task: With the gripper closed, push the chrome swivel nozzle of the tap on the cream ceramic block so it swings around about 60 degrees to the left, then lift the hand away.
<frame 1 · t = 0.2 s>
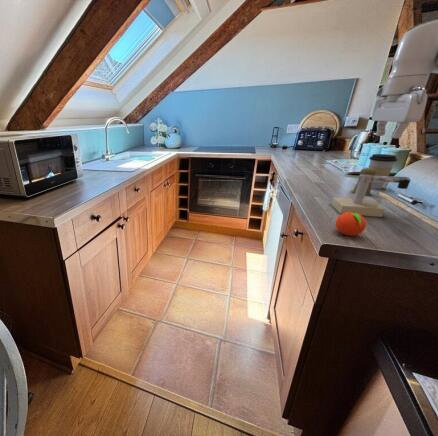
hand: (387, 136, 78), 26 cm above the countertop, tool pointing down, fingers open, 8 cm apart
clementine: (347, 235, 72), on the countertop
spout: (382, 181, 84), point 11 cm above the countertop, hinge at 0.0°
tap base: (354, 210, 90), on the countertop
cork: (360, 193, 108), on the countertop
coffee cup: (372, 187, 116), on the countertop
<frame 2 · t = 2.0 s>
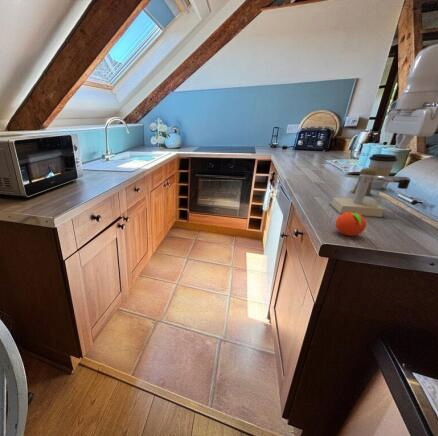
hand: (400, 148, 82), 22 cm above the countertop, tool pointing down, fingers closed
nothing on the countertop moved.
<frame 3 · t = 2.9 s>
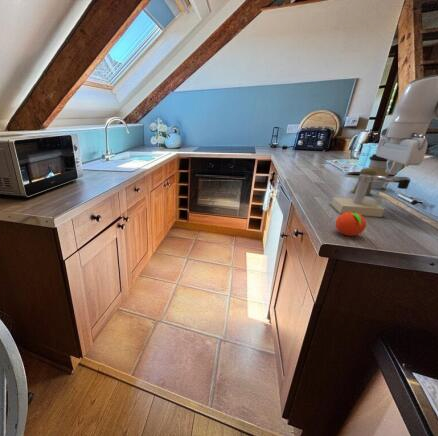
hand: (390, 173, 85), 13 cm above the countertop, tool pointing down, fingers closed
nothing on the countertop moved.
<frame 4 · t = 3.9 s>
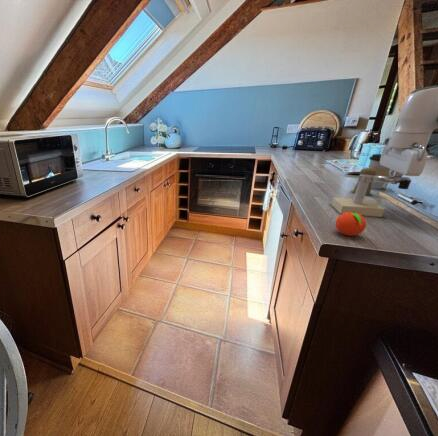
hand: (392, 183, 84), 10 cm above the countertop, tool pointing down, fingers closed
spout: (383, 181, 83), point 11 cm above the countertop, hinge at 2.2°, touching gripper
everything else where it was.
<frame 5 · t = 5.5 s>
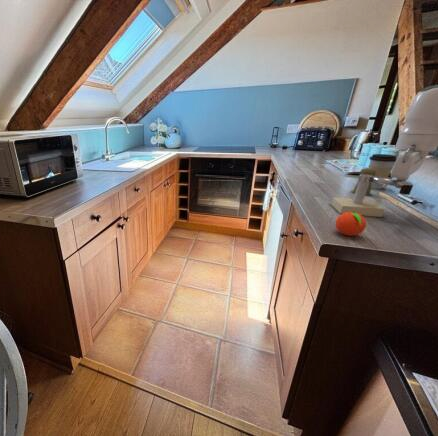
hand: (398, 187, 79), 10 cm above the countertop, tool pointing down, fingers closed
spout: (383, 183, 81), point 11 cm above the countertop, hinge at 42.9°, touching gripper
everything else where it was.
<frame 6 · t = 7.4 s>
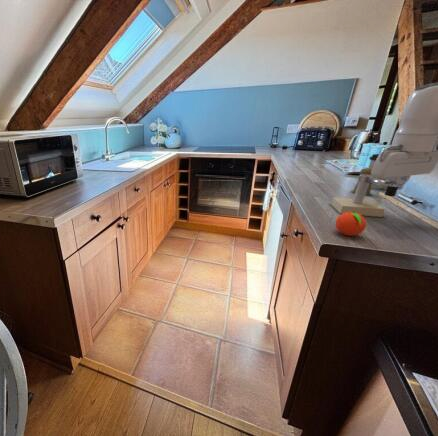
hand: (395, 189, 77), 11 cm above the countertop, tool pointing down, fingers closed
spout: (376, 184, 80), point 11 cm above the countertop, hinge at 74.2°
everything else where it was.
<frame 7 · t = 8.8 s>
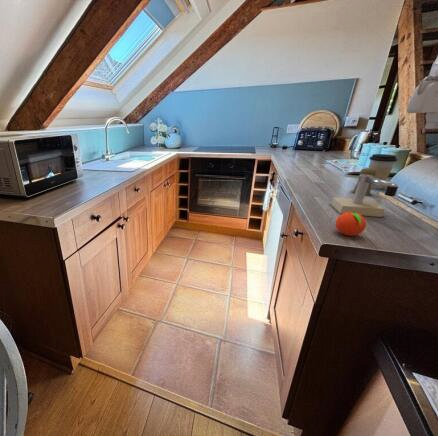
hand: (431, 128, 72), 28 cm above the countertop, tool pointing down, fingers closed
nothing on the countertop moved.
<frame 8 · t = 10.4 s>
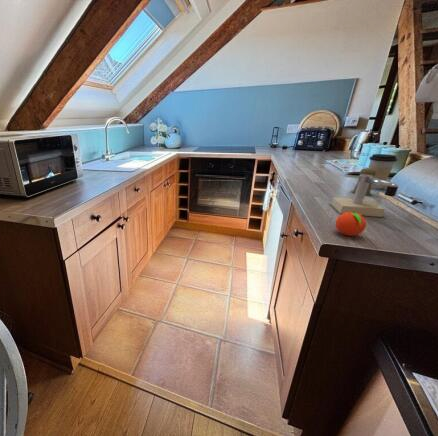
nothing on the countertop moved.
at the end: spout at +74° (first picture: +0°) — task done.
